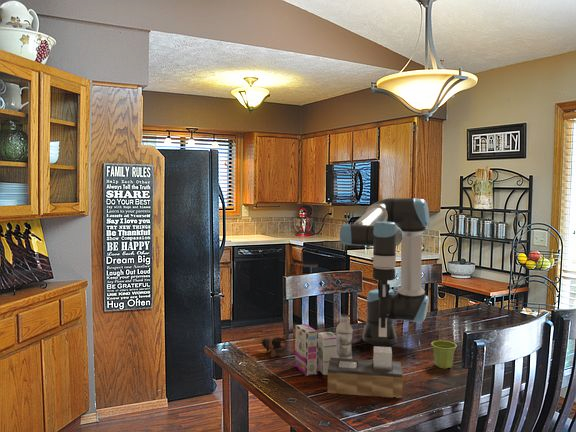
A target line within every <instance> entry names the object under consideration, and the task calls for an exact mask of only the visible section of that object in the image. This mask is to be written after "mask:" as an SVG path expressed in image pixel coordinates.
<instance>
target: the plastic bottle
mask: <svg viewBox="0 0 576 432" xmlns="http://www.w3.org/2000/svg"><path fill="white" fill-rule="evenodd" d="M339 321H340V322H339V323H338V324H337V326H336V329H335V332H336V336H337V358H346V359H354V358H353V353H352V341H353V340H352V339H353V332H354V328H353V326H352V325H351V323H350V321H351V319H350V315H348V314H341V315H339Z"/></svg>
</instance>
